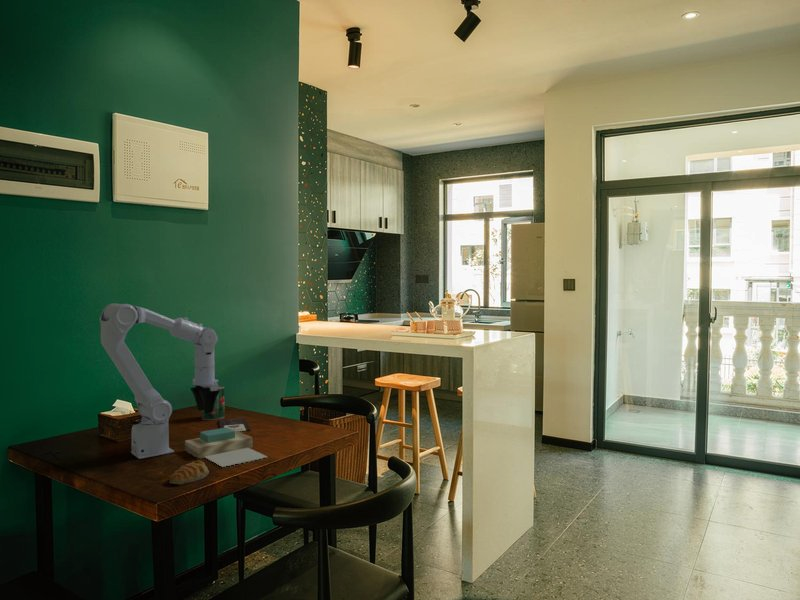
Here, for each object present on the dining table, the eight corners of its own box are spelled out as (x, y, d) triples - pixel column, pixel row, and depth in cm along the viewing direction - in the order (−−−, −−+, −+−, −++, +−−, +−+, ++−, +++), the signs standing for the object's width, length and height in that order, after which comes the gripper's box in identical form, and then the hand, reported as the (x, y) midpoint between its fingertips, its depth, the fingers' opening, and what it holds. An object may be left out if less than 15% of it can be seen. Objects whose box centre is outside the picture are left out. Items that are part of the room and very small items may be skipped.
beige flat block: (198, 458, 154) (198, 447, 154) (185, 450, 162) (185, 440, 162) (252, 447, 165) (252, 437, 165) (237, 440, 172) (237, 431, 172)
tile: (208, 443, 159) (208, 436, 159) (200, 438, 164) (200, 431, 164) (235, 437, 164) (235, 431, 164) (226, 434, 169) (226, 427, 169)
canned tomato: (229, 417, 204) (228, 387, 204) (209, 421, 198) (208, 390, 198) (217, 414, 209) (216, 384, 209) (197, 418, 203) (197, 387, 203)
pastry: (183, 488, 132) (183, 472, 132) (161, 485, 135) (161, 469, 135) (211, 476, 141) (210, 460, 141) (190, 473, 144) (189, 458, 144)
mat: (222, 468, 146) (222, 466, 146) (204, 457, 155) (204, 456, 155) (267, 458, 155) (267, 456, 155) (248, 448, 164) (248, 447, 164)
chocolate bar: (244, 417, 201) (250, 429, 184) (244, 420, 201) (250, 432, 184) (218, 420, 197) (221, 432, 181) (218, 422, 197) (221, 435, 181)
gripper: (227, 368, 168) (228, 413, 168) (208, 363, 179) (208, 405, 179) (204, 370, 163) (204, 417, 163) (185, 365, 174) (186, 409, 174)
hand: (205, 411), depth 171 cm, fingers open, 5 cm apart
